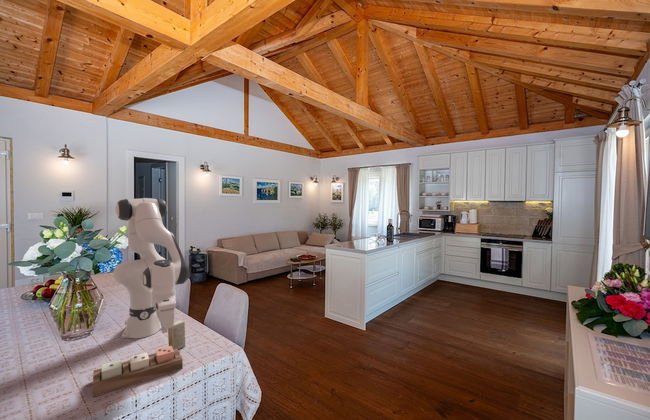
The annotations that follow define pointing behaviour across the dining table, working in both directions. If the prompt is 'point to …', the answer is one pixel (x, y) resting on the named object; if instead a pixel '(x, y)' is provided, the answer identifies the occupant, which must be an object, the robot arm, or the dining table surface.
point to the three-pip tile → (164, 354)
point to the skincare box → (177, 335)
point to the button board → (135, 374)
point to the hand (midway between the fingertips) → (164, 331)
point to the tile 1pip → (111, 369)
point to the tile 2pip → (139, 361)
